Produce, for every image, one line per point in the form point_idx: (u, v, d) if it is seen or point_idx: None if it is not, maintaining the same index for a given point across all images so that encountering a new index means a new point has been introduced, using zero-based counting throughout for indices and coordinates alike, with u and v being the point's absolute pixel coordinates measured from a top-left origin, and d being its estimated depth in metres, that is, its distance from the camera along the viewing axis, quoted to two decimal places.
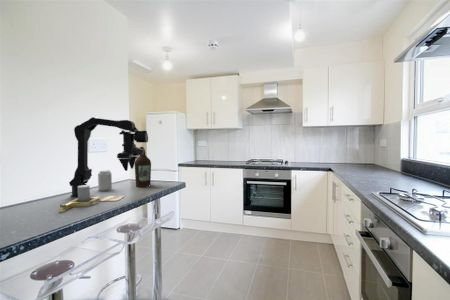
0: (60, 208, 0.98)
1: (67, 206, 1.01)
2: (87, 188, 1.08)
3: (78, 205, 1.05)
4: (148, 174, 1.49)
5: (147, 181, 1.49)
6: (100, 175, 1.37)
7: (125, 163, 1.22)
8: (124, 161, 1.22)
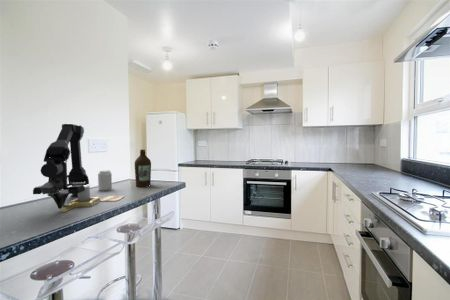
0: (63, 208, 0.98)
1: (70, 206, 1.01)
2: (87, 188, 1.08)
3: (81, 205, 1.05)
4: (148, 174, 1.49)
5: (147, 181, 1.49)
6: (100, 175, 1.37)
7: None
8: None
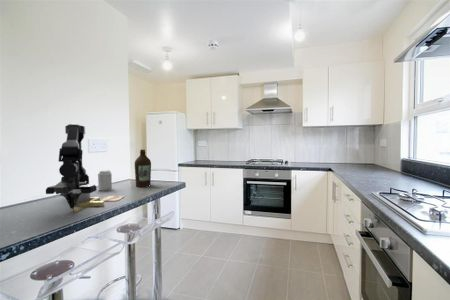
0: (75, 208, 0.98)
1: (81, 206, 1.02)
2: None
3: (92, 205, 1.06)
4: (148, 174, 1.49)
5: (147, 181, 1.49)
6: (100, 175, 1.37)
7: None
8: None
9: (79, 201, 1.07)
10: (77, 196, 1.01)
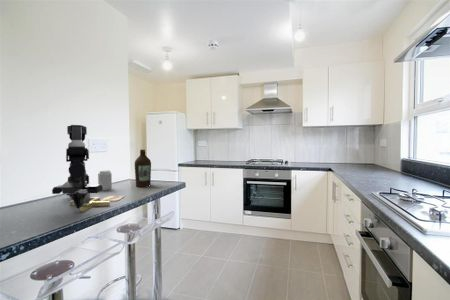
0: (81, 208, 0.98)
1: (88, 206, 1.02)
2: None
3: (98, 204, 1.06)
4: (148, 174, 1.49)
5: (147, 181, 1.49)
6: (100, 175, 1.37)
7: None
8: None
9: None
10: (83, 196, 1.01)
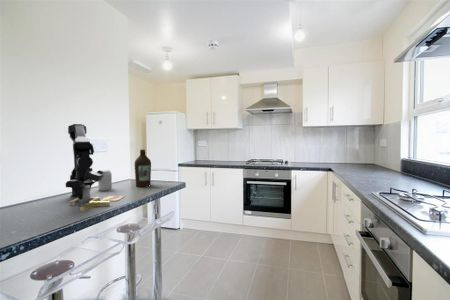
0: (81, 208, 0.98)
1: (88, 206, 1.02)
2: (87, 188, 1.08)
3: (98, 204, 1.06)
4: (148, 174, 1.49)
5: (147, 181, 1.49)
6: None
7: (79, 191, 1.05)
8: (78, 189, 1.05)
9: (79, 201, 1.07)
10: None
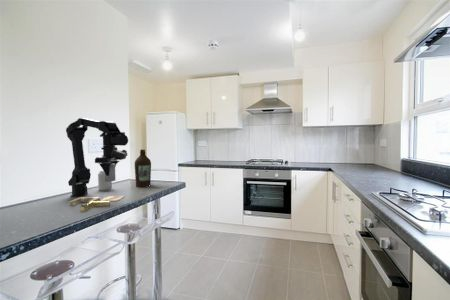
0: (81, 208, 0.98)
1: (88, 206, 1.02)
2: (113, 165, 1.16)
3: (98, 204, 1.06)
4: (148, 174, 1.49)
5: (147, 181, 1.49)
6: (100, 175, 1.37)
7: (106, 168, 1.13)
8: (105, 165, 1.13)
9: (106, 177, 1.15)
10: None
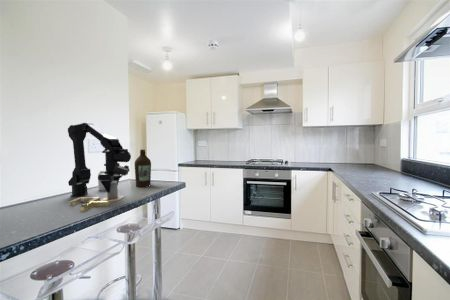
0: (81, 208, 0.98)
1: (88, 206, 1.02)
2: (115, 183, 1.18)
3: (98, 204, 1.06)
4: (148, 174, 1.49)
5: (147, 181, 1.49)
6: None
7: (107, 185, 1.13)
8: (106, 182, 1.13)
9: (108, 195, 1.16)
10: None
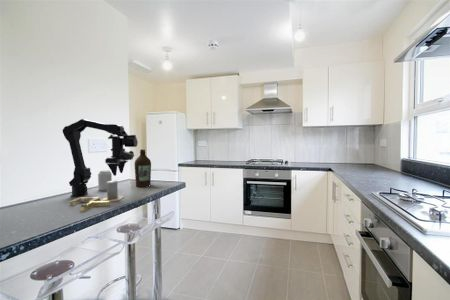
0: (81, 208, 0.98)
1: (88, 206, 1.02)
2: (115, 183, 1.18)
3: (98, 204, 1.06)
4: (148, 174, 1.49)
5: (147, 181, 1.49)
6: (100, 175, 1.37)
7: (114, 168, 1.21)
8: (113, 166, 1.21)
9: (108, 195, 1.16)
10: None
